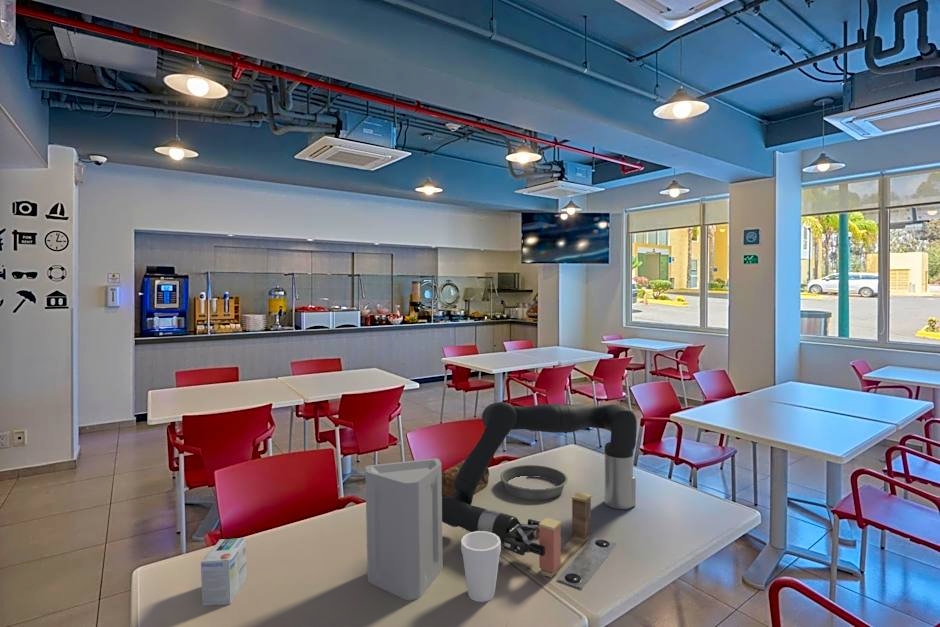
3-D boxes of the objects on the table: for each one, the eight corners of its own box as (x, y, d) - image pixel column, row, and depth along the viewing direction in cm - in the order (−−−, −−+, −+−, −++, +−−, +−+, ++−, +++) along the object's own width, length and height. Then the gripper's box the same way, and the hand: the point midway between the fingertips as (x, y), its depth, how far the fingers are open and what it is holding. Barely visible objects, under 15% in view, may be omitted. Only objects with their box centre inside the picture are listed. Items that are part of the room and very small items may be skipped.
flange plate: (594, 538, 143) (594, 536, 143) (616, 545, 139) (616, 543, 139) (557, 580, 122) (557, 578, 122) (581, 589, 119) (581, 586, 119)
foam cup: (501, 583, 121) (501, 531, 121) (500, 607, 112) (500, 551, 112) (463, 581, 122) (463, 530, 122) (459, 604, 113) (458, 549, 113)
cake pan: (573, 502, 168) (573, 489, 168) (502, 502, 168) (502, 489, 168) (561, 475, 193) (561, 464, 192) (498, 475, 193) (498, 464, 193)
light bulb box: (220, 580, 124) (219, 538, 124) (248, 578, 125) (246, 536, 124) (201, 607, 113) (199, 561, 113) (231, 605, 114) (229, 559, 114)
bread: (467, 480, 188) (467, 454, 188) (490, 486, 182) (490, 459, 182) (437, 497, 173) (436, 469, 173) (461, 504, 167) (461, 475, 167)
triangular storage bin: (372, 607, 113) (370, 487, 111) (367, 572, 127) (365, 465, 126) (452, 592, 118) (451, 478, 117) (439, 560, 132) (437, 457, 131)
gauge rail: (577, 533, 146) (577, 491, 145) (591, 537, 143) (591, 494, 143) (538, 573, 125) (538, 524, 125) (553, 579, 123) (553, 529, 122)
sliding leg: (546, 560, 129) (546, 517, 128) (561, 565, 126) (561, 521, 126) (538, 568, 125) (538, 523, 125) (553, 573, 123) (553, 528, 122)
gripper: (483, 523, 129) (539, 541, 119) (511, 504, 140) (564, 519, 131) (484, 551, 129) (539, 571, 119) (511, 530, 140) (563, 546, 131)
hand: (552, 544), depth 125 cm, fingers open, 8 cm apart
